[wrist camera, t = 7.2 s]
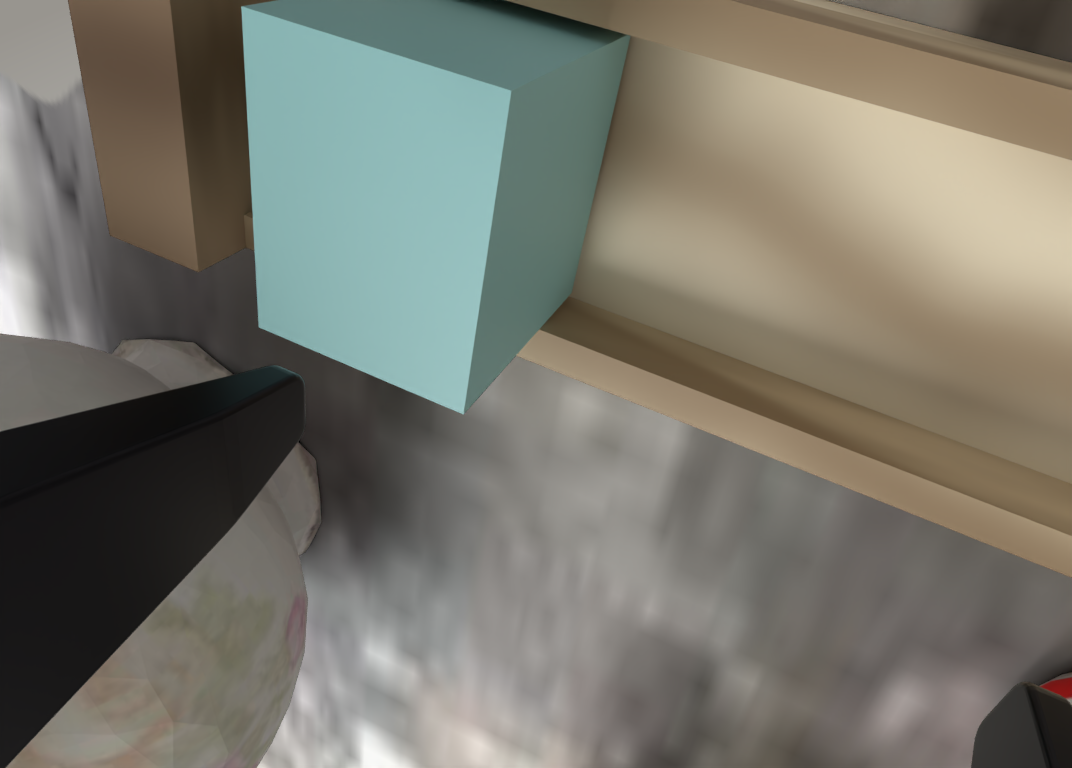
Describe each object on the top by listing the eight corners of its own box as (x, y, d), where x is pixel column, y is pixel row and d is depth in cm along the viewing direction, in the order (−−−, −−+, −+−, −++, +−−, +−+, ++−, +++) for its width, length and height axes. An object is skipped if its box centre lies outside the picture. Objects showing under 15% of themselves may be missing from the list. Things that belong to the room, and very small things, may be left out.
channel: (1194, 541, 18) (1264, 715, 14) (238, 181, 25) (110, 235, 21) (1556, 186, 13) (1821, 313, 9) (216, -156, 19) (38, -168, 15)
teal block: (571, 293, 20) (463, 414, 15) (406, 231, 21) (258, 327, 17) (631, 33, 16) (511, 90, 12) (425, -25, 17) (241, 5, 13)
